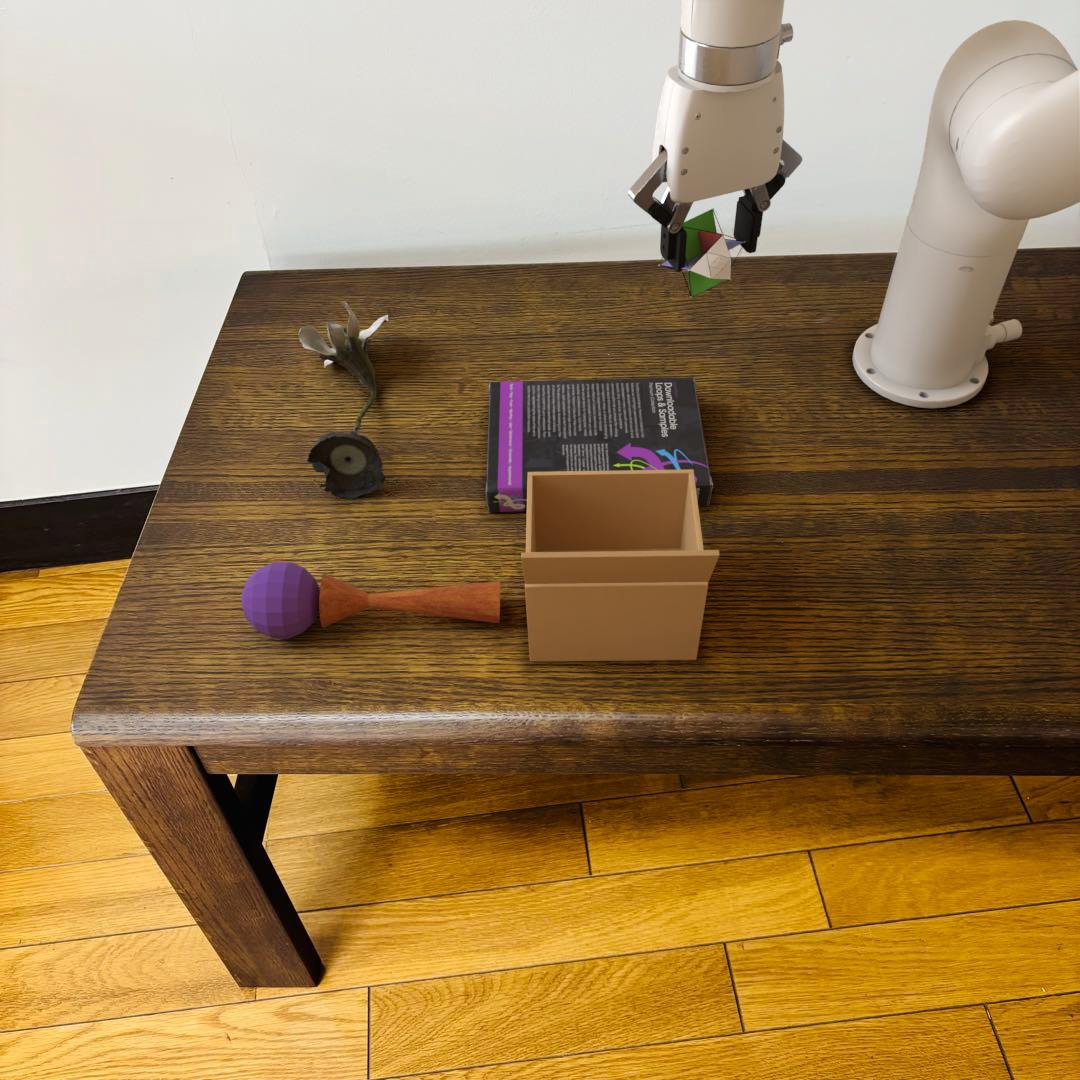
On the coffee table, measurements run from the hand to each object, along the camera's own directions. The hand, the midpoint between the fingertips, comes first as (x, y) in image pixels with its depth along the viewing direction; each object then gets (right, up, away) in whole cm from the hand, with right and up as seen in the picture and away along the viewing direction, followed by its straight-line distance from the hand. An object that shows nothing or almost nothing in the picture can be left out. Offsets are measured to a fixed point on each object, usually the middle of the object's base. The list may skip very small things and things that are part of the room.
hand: (709, 252), depth 90 cm
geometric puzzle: (-1, -2, +3) cm, 4 cm away
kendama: (-28, -32, -10) cm, 44 cm away
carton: (-10, -31, -10) cm, 34 cm away
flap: (-10, -28, -23) cm, 38 cm away
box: (-10, -18, +1) cm, 21 cm away
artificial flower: (-34, -14, +6) cm, 37 cm away
